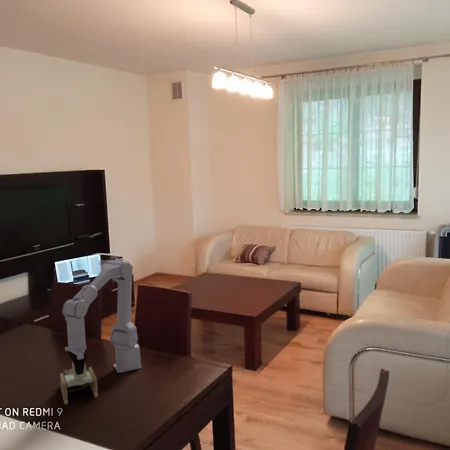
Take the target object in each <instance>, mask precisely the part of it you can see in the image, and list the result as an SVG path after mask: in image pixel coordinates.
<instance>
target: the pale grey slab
mask: <svg viewBox="0 0 450 450" xmlns="http://www.w3.org/2000/svg"><path fill="white" fill-rule="evenodd" d="M86 375H87V377H84V378H79V379H74V376H73V374H69V375H64V379H65V382H66V385H67V388H70V387H74V386H77V385H80V384H84V383H87V384H88V383H89V382H93V379H92V376H91V374H90V372H89V370H86ZM89 384H90V383H89Z"/></svg>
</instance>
